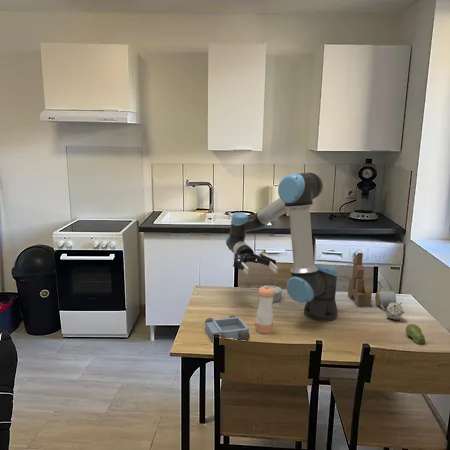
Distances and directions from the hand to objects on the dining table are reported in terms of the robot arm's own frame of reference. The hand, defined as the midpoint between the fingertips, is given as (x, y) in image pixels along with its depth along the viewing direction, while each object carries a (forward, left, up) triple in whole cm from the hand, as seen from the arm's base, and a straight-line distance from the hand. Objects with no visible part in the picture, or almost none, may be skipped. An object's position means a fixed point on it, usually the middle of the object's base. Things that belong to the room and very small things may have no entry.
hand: (262, 271), depth 183 cm
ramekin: (+6, -28, -23) cm, 37 cm away
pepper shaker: (-4, +6, -23) cm, 24 cm away
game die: (-51, -34, -23) cm, 65 cm away
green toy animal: (-61, -17, -24) cm, 67 cm away
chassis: (+7, +18, -23) cm, 30 cm away
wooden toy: (-33, -48, -23) cm, 62 cm away
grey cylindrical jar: (-46, -46, -23) cm, 69 cm away
